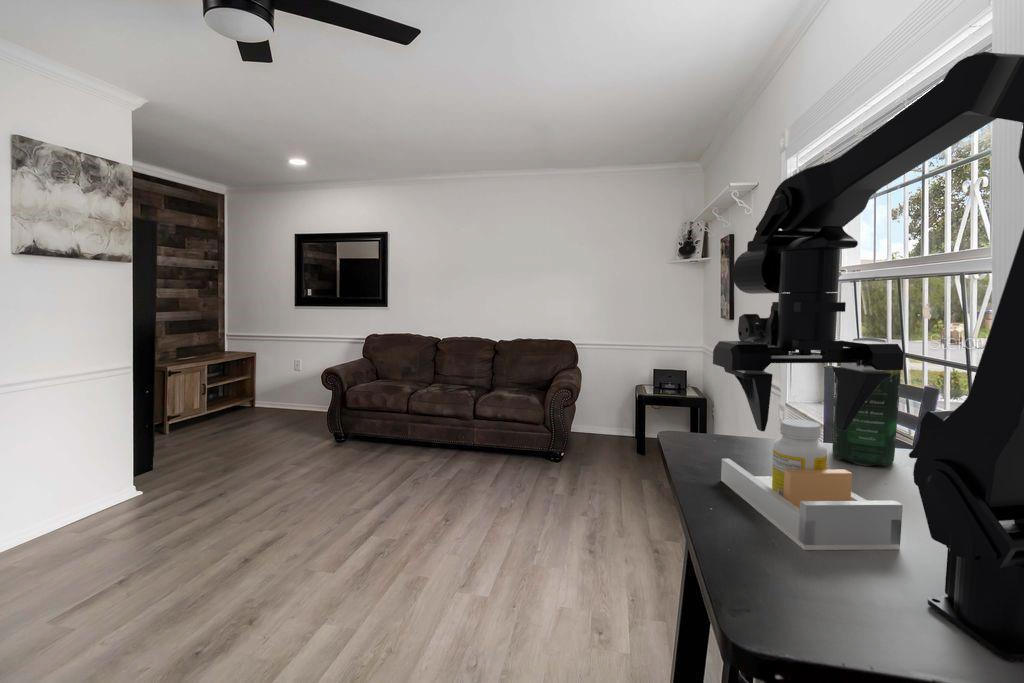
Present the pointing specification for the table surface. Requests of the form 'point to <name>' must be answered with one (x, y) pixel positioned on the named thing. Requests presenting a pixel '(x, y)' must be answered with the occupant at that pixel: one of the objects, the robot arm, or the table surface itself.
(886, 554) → the table surface
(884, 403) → the coffee jar
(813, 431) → the supplement bottle
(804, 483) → the pusher
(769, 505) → the lane
